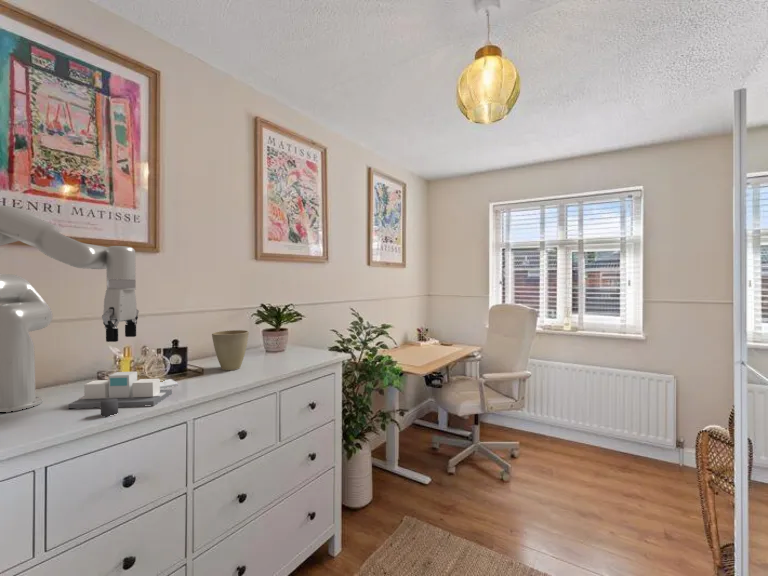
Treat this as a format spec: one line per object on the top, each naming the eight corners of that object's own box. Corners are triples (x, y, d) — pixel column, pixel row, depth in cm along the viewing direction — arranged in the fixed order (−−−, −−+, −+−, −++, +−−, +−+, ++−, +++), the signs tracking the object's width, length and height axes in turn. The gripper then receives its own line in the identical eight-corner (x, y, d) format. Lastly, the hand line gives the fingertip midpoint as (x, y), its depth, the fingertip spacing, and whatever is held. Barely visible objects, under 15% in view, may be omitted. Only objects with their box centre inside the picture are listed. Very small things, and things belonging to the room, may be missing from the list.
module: (108, 398, 114) (108, 375, 114) (117, 393, 119) (117, 372, 119) (128, 397, 115) (128, 375, 115) (137, 392, 120) (137, 371, 120)
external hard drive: (132, 389, 131) (170, 382, 140) (138, 394, 125) (178, 386, 134) (131, 385, 131) (170, 378, 140) (138, 390, 125) (178, 382, 134)
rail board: (68, 409, 110) (68, 388, 110) (95, 396, 122) (95, 377, 122) (153, 406, 112) (153, 385, 112) (171, 393, 124) (171, 375, 124)
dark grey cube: (97, 417, 103) (97, 403, 103) (106, 412, 107) (106, 398, 107) (112, 416, 104) (112, 402, 104) (121, 411, 108) (121, 398, 108)
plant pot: (255, 364, 167) (254, 330, 166) (238, 373, 152) (238, 334, 152) (223, 364, 168) (223, 329, 168) (204, 372, 154) (204, 334, 153)
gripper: (124, 284, 125) (125, 335, 125) (89, 285, 107) (90, 343, 108) (148, 285, 125) (148, 334, 126) (117, 285, 108) (117, 343, 108)
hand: (121, 339), depth 117 cm, fingers open, 9 cm apart
